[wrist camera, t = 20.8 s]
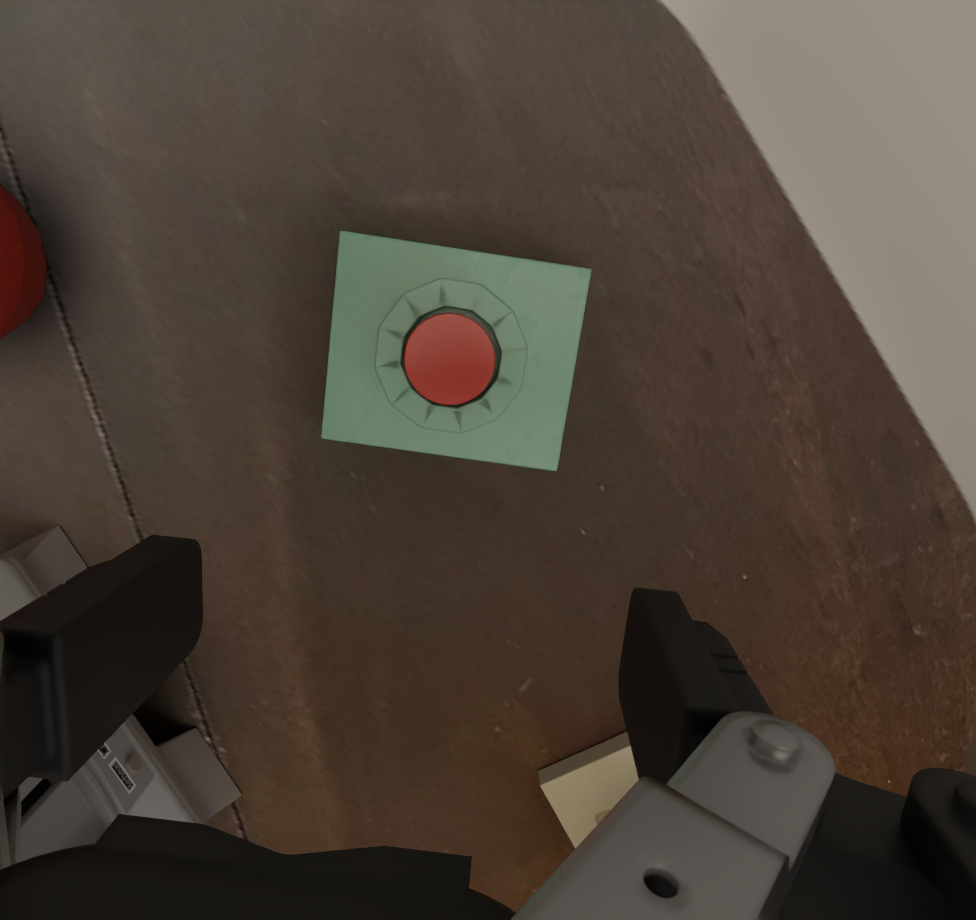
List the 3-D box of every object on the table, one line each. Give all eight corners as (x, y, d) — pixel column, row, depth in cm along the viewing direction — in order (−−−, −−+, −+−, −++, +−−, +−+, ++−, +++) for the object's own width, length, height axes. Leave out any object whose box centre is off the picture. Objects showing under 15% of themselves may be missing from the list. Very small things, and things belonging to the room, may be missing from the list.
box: (584, 272, 32) (599, 265, 28) (552, 462, 34) (561, 480, 30) (349, 236, 32) (330, 223, 28) (330, 431, 34) (310, 445, 30)
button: (500, 320, 29) (501, 320, 27) (487, 406, 30) (488, 411, 28) (413, 307, 29) (409, 306, 27) (403, 394, 30) (398, 398, 28)
